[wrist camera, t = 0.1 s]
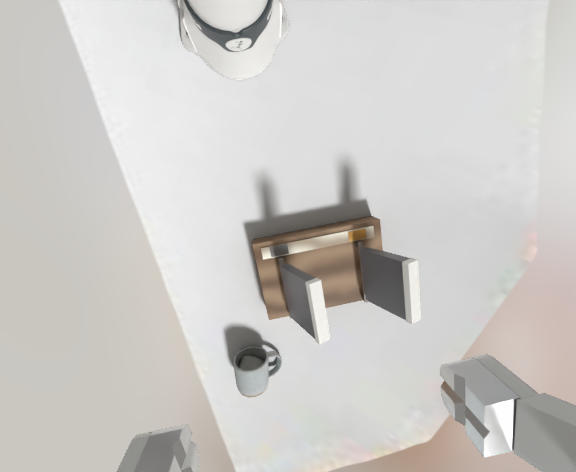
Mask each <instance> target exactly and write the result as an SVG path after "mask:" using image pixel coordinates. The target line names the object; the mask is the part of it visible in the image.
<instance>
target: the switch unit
mask: <svg viewBox="0 0 576 472" xmlns="http://www.w3.org/2000/svg"><path fill="white" fill-rule="evenodd" d="M252 246H253V251H254V255H255V260H256V264H257V268H258V273H259V277H260V282H261V286H262V291H263V295H264V300H265V304H266V309H267V313H268V318H269V320H272V319H276V318H281V317H286V316H289V311H288V306H287V301H286V296H285V291H284V286H283V281H282V276H281V271H280V266H281V265H284V264H287V263H289V264H290V265H292V266H294V267H296V268H298V269H300V270H302V271H304V272H305V273H307V274H309V275H311V276H313V277H315V278H319V279H320V280H321V283H322V289H323V295H324V302H325V308H328V307H333V306H337V305H342V304H347V303H351V302H356V301H361V300H364V301H365V302H369V301H367V300H366V297H365V289H364V280H363V271H362V262H361V253H360V249H363V248H366V247H369V248H373V249H377V250H380V251H383V250H382V239H381V228H380V219H377V218H375V217H373V216H370V217H365V218H360V219H354V220H349V221H344V222H339V223H334V224H329V225H324V226H319V227H314V228H309V229H304V230H299V231H294V232H289V233H284V234H279V235H274V236H269V237H264V238H258V239H253V242H252ZM290 318H291V317H290Z"/></svg>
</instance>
